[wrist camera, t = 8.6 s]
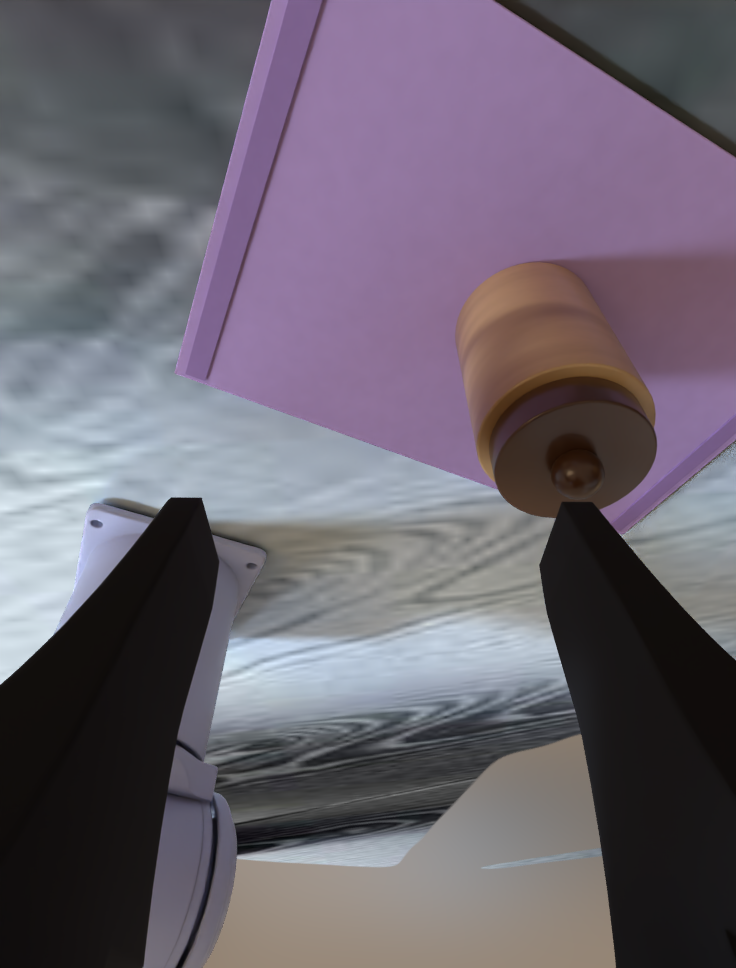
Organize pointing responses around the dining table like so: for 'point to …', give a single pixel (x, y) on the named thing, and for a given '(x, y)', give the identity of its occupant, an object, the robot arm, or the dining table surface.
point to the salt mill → (552, 392)
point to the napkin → (457, 228)
